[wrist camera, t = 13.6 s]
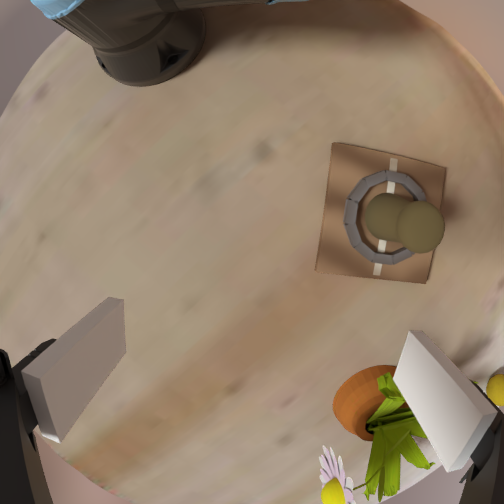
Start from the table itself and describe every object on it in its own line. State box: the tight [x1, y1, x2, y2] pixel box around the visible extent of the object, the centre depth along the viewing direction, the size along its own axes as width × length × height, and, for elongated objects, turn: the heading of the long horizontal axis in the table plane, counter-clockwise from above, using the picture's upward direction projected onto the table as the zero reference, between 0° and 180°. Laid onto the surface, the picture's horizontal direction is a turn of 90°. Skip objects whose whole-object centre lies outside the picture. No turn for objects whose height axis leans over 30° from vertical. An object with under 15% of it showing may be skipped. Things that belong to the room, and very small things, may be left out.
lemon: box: [486, 374, 504, 406], centre depth 40 cm, size 6×6×8 cm
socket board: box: [315, 142, 445, 284], centre depth 37 cm, size 16×16×2 cm
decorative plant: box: [319, 365, 478, 504], centre depth 32 cm, size 27×24×25 cm
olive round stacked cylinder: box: [365, 193, 445, 254], centre depth 32 cm, size 6×6×11 cm
